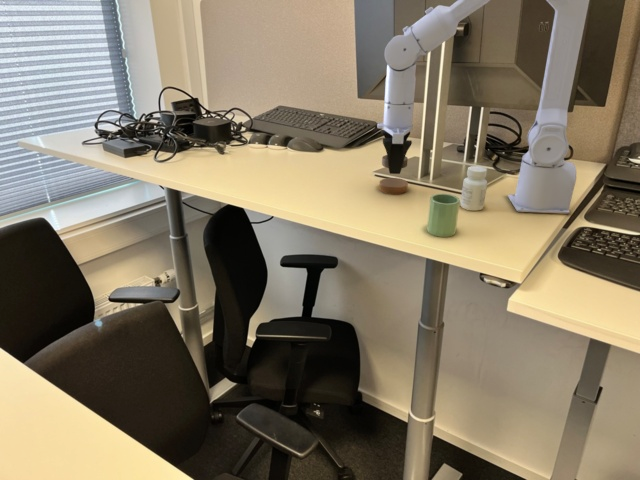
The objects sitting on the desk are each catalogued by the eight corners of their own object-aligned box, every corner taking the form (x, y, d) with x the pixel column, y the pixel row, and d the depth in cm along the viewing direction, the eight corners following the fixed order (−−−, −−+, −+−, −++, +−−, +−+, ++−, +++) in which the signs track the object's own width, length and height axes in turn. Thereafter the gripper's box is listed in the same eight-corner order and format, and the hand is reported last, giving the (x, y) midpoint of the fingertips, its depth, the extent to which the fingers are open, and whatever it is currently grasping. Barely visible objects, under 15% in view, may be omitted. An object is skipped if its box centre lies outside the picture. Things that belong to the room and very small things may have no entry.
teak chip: (406, 184, 102) (407, 178, 101) (408, 194, 96) (408, 188, 96) (379, 183, 102) (379, 177, 102) (378, 193, 97) (379, 187, 96)
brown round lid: (406, 161, 99) (407, 154, 98) (407, 169, 94) (408, 162, 94) (382, 160, 100) (382, 153, 99) (381, 168, 95) (382, 161, 94)
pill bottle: (480, 202, 92) (486, 165, 89) (485, 211, 89) (492, 172, 85) (458, 202, 93) (463, 164, 89) (462, 210, 89) (467, 172, 85)
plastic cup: (453, 225, 83) (457, 194, 81) (457, 237, 79) (461, 205, 76) (426, 224, 84) (429, 192, 81) (428, 236, 79) (431, 203, 77)
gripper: (379, 95, 98) (375, 157, 104) (378, 109, 85) (374, 179, 91) (413, 95, 97) (407, 158, 103) (417, 110, 84) (410, 181, 91)
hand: (394, 168), depth 97 cm, fingers closed on brown round lid, 5 cm apart
